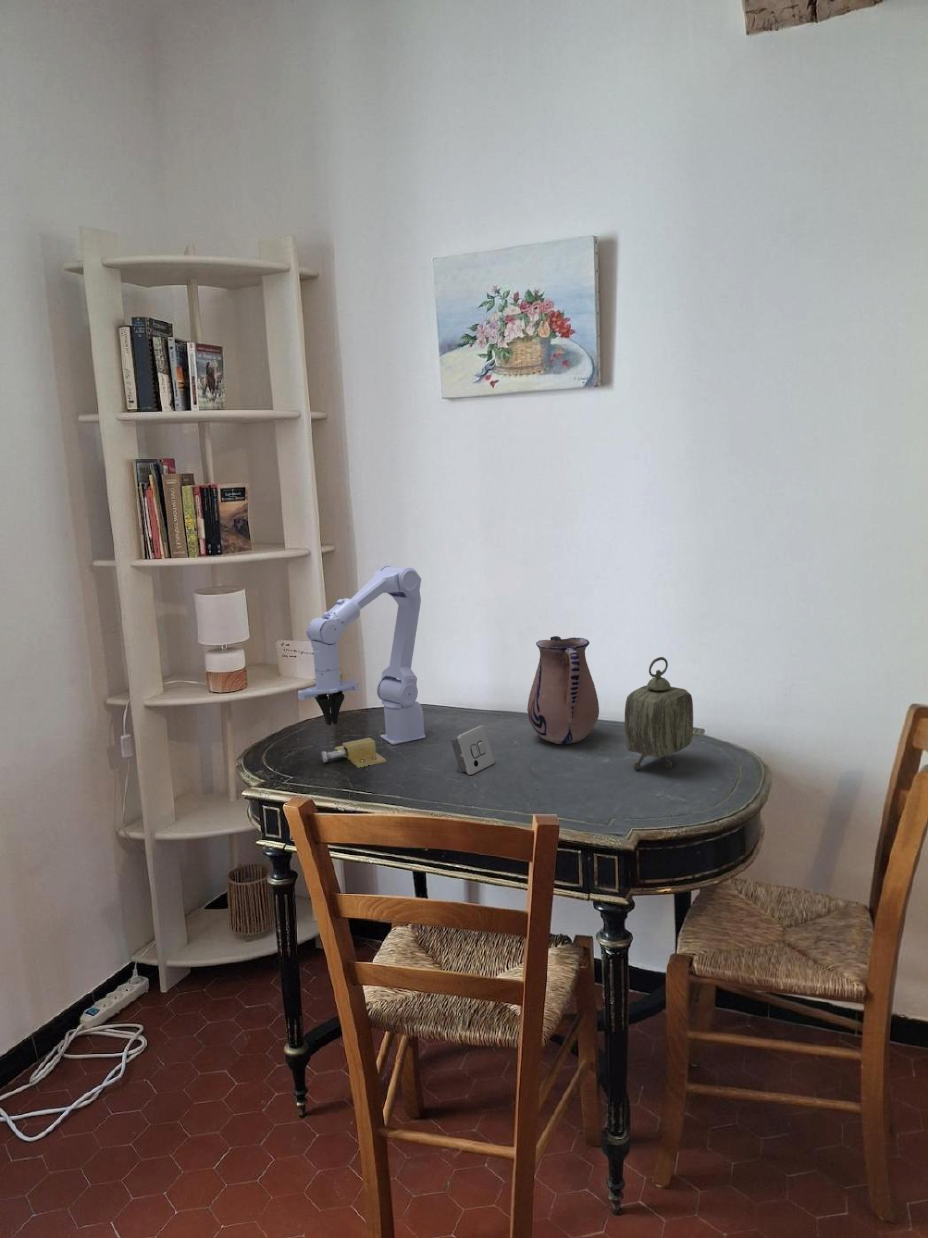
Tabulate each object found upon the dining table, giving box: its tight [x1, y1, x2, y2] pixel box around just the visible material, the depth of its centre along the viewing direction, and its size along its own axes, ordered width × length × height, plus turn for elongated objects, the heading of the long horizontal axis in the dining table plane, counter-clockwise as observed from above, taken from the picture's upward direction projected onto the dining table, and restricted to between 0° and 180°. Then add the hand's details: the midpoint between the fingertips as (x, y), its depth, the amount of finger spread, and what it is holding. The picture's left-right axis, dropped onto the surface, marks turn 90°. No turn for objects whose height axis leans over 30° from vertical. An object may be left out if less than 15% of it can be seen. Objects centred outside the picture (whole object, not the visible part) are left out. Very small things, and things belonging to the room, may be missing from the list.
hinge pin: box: [321, 749, 348, 763], centre depth 221 cm, size 9×3×3 cm, turn 118°
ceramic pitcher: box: [527, 635, 600, 745], centre depth 224 cm, size 18×21×25 cm
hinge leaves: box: [334, 737, 387, 769], centre depth 223 cm, size 7×16×3 cm, turn 28°
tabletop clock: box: [623, 656, 694, 771], centre depth 203 cm, size 14×9×25 cm, turn 134°
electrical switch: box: [450, 725, 495, 776], centre depth 210 cm, size 9×5×9 cm, turn 141°
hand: (331, 723), depth 219 cm, fingers closed
